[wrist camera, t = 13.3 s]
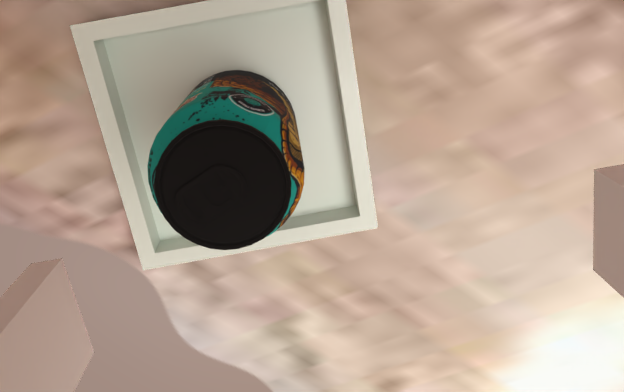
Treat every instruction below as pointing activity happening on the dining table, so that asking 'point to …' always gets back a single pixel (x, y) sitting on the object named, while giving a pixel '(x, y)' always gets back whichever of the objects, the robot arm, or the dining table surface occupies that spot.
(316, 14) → the tray
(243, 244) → the beverage can
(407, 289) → the dining table surface
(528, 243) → the dining table surface
